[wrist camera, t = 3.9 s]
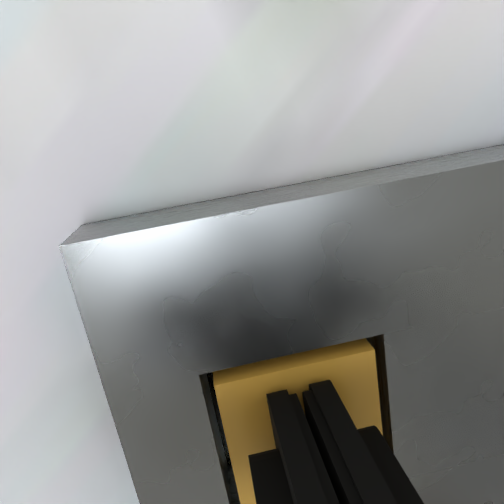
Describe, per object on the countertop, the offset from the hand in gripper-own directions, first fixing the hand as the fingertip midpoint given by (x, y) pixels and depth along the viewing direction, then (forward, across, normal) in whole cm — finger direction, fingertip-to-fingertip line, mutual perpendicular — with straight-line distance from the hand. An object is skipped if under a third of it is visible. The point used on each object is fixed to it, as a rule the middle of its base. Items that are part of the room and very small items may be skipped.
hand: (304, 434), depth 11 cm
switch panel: (+2, -4, 0) cm, 5 cm away
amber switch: (+2, 0, 0) cm, 2 cm away
